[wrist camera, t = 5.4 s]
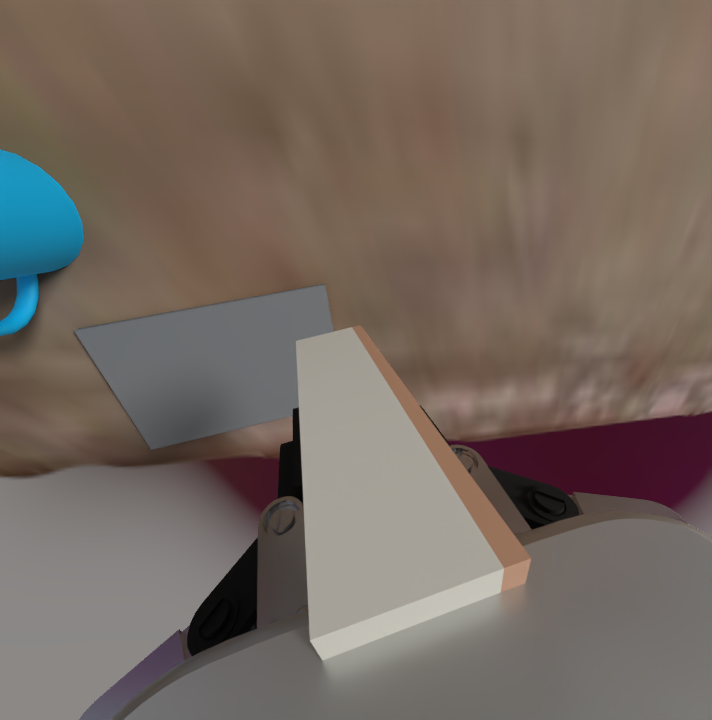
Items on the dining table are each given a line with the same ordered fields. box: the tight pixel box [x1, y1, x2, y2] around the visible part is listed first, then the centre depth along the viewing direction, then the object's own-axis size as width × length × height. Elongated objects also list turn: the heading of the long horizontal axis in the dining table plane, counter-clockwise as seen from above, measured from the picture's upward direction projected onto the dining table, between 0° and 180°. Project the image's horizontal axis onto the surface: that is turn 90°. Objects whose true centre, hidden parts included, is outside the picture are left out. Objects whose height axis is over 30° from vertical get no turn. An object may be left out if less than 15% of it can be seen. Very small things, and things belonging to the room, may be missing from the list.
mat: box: [74, 284, 334, 450], centre depth 28 cm, size 14×22×1 cm, turn 98°
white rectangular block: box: [296, 325, 531, 661], centre depth 9 cm, size 7×3×10 cm, turn 11°
